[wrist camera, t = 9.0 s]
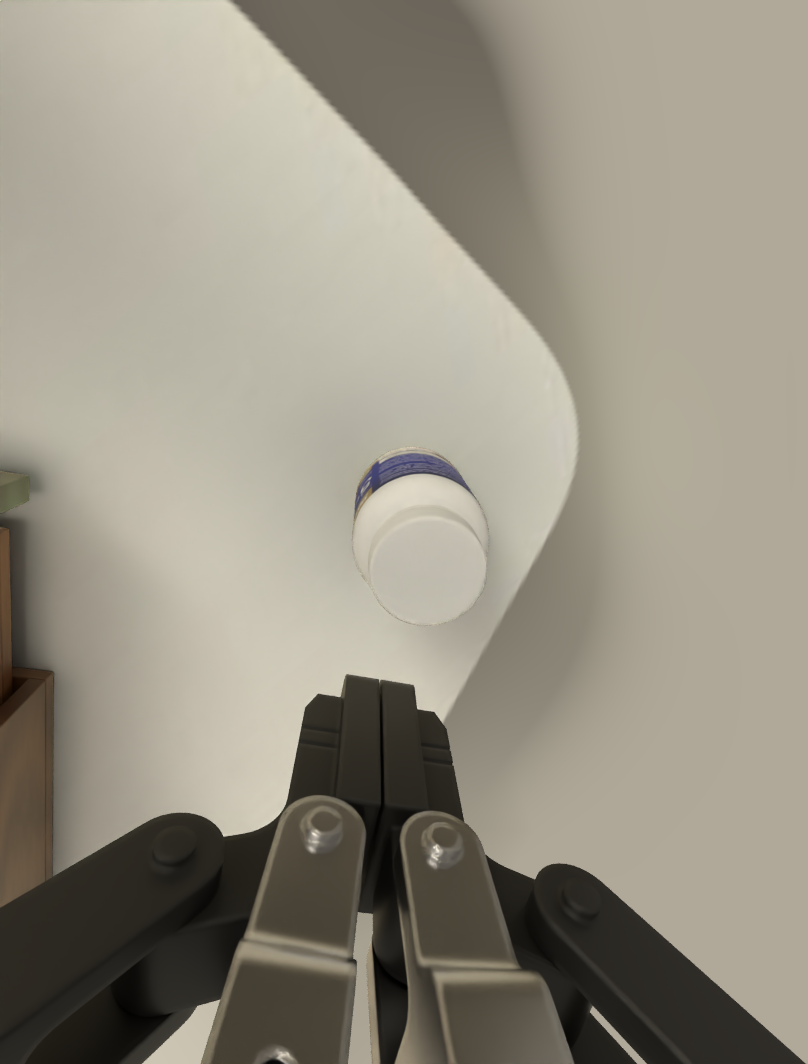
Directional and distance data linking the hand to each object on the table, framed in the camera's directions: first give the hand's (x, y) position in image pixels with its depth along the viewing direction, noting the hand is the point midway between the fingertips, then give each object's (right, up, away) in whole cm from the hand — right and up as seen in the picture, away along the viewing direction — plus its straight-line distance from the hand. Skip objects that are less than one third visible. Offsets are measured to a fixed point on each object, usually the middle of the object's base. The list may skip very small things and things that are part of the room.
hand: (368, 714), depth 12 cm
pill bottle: (+1, +6, +15) cm, 16 cm away
